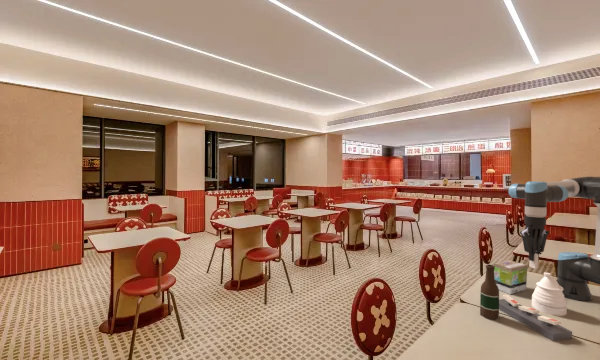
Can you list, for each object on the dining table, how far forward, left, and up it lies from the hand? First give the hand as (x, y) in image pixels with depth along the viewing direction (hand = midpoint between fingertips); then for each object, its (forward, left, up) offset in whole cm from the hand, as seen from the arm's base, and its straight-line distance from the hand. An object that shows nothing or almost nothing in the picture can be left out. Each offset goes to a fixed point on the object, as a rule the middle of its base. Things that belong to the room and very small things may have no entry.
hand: (533, 267), depth 126 cm
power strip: (+2, 0, -24) cm, 24 cm away
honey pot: (-18, -8, -25) cm, 31 cm away
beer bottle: (+16, -7, -25) cm, 30 cm away
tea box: (-19, -30, -25) cm, 43 cm away
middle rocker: (+2, 0, -19) cm, 19 cm away
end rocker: (+2, +9, -19) cm, 21 cm away
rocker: (+2, -9, -19) cm, 21 cm away
